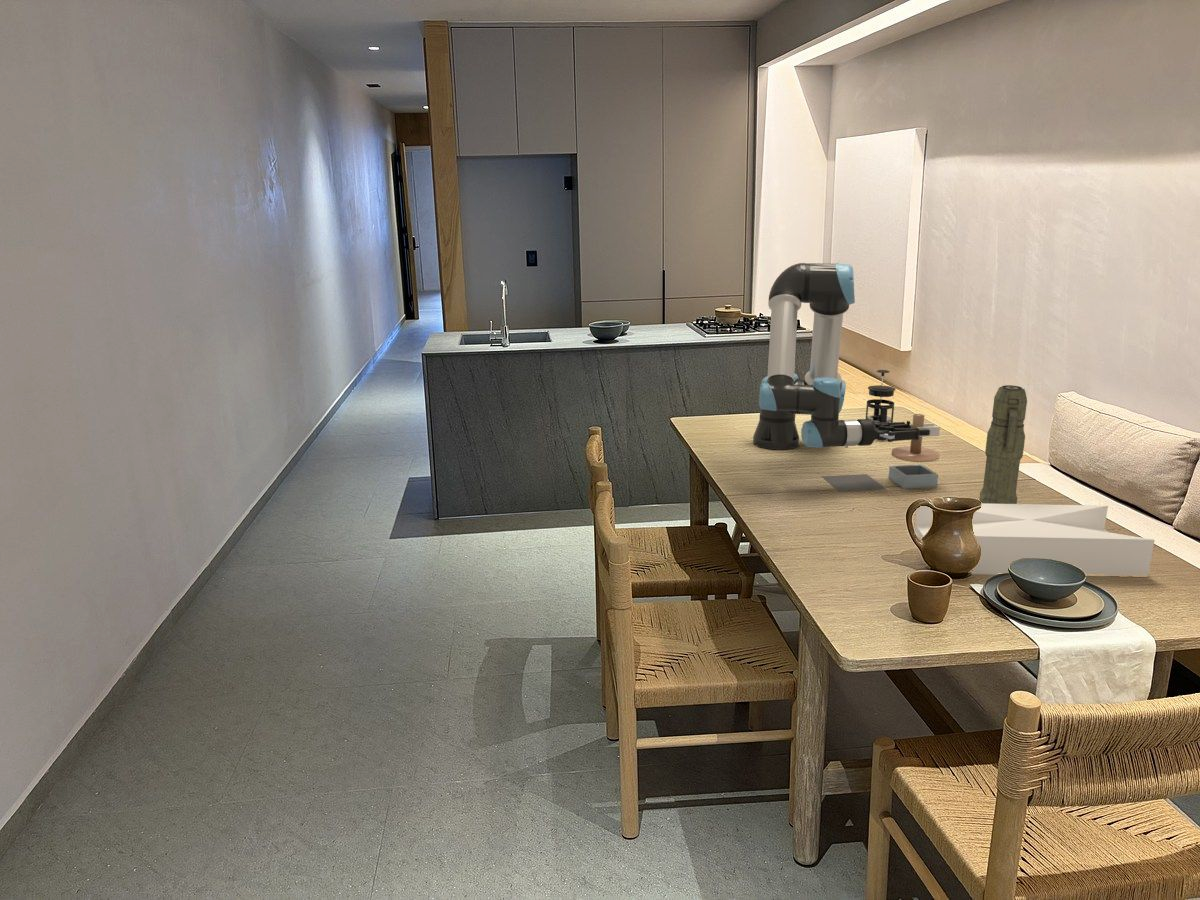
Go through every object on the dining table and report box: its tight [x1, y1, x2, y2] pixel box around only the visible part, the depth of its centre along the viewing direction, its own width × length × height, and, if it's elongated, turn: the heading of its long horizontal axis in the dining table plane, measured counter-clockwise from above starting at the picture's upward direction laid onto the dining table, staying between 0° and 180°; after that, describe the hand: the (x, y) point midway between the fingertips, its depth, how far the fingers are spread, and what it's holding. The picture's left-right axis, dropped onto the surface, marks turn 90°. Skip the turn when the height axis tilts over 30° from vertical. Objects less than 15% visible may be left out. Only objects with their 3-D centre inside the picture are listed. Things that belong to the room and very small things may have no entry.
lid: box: [891, 413, 940, 463], centre depth 263 cm, size 13×13×12 cm
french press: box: [865, 369, 896, 422], centre depth 312 cm, size 12×9×23 cm
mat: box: [821, 473, 887, 493], centre depth 267 cm, size 14×14×1 cm
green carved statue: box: [978, 384, 1028, 504], centre depth 234 cm, size 9×12×35 cm
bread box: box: [914, 503, 1155, 576], centre depth 215 cm, size 45×22×10 cm, turn 86°
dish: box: [888, 463, 939, 490], centre depth 267 cm, size 10×10×4 cm
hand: (935, 429), depth 263 cm, fingers closed on lid, 3 cm apart
